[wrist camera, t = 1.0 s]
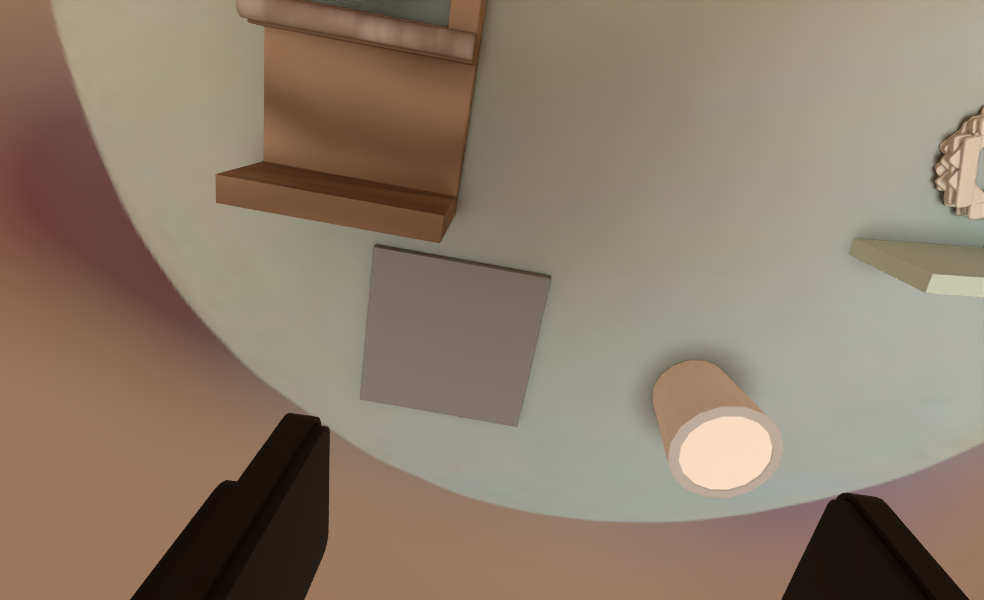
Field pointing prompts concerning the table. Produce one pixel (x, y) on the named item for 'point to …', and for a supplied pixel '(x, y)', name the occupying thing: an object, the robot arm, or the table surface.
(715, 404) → the beige short cylinder
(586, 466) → the table surface
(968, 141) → the angle bracket and nut
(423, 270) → the rubber mat
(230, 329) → the table surface
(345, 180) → the can dispenser
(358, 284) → the table surface
